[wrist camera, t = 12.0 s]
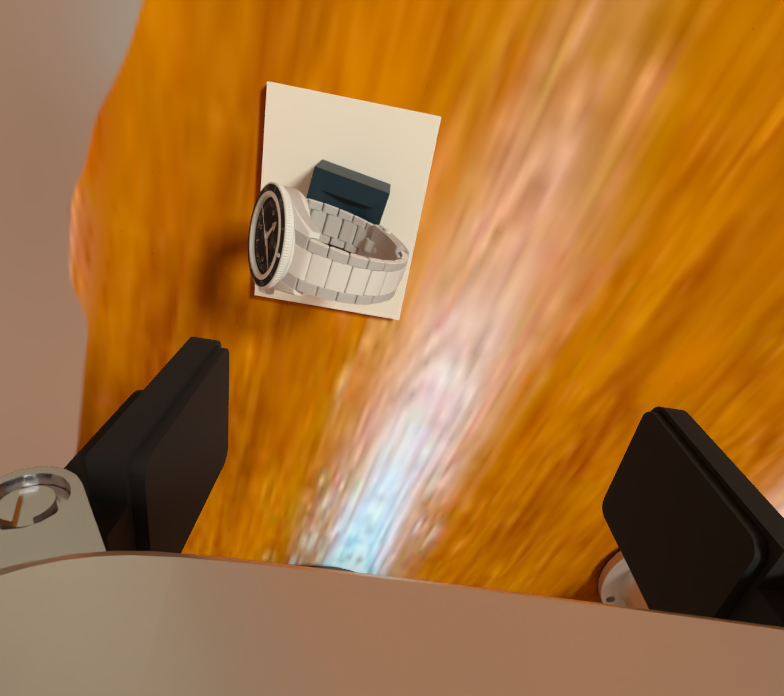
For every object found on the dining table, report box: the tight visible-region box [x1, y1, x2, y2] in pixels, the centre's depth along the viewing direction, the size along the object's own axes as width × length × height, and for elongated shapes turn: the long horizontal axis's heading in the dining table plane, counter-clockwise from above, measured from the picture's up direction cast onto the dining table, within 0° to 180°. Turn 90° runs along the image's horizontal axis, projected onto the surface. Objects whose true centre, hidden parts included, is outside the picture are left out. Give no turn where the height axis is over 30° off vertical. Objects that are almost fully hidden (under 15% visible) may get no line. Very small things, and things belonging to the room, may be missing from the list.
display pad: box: [254, 81, 441, 320], centre depth 31 cm, size 13×10×1 cm
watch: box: [248, 159, 410, 305], centre depth 26 cm, size 6×8×11 cm
